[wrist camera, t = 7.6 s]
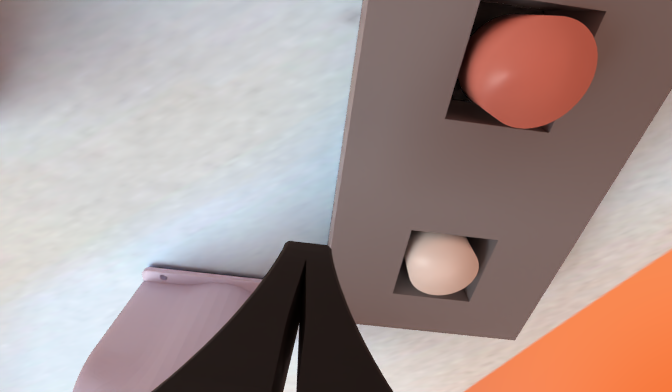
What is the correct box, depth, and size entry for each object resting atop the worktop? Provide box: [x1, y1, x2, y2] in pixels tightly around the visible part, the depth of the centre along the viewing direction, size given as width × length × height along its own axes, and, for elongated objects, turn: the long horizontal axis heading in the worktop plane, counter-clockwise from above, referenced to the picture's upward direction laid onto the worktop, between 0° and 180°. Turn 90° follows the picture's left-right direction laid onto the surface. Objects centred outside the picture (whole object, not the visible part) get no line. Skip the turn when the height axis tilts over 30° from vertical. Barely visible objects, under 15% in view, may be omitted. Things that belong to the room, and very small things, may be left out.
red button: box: [458, 14, 598, 129], centre depth 12 cm, size 4×4×3 cm
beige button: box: [404, 230, 479, 295], centre depth 18 cm, size 4×4×3 cm
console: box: [328, 0, 672, 340], centre depth 17 cm, size 12×20×4 cm, turn 173°
